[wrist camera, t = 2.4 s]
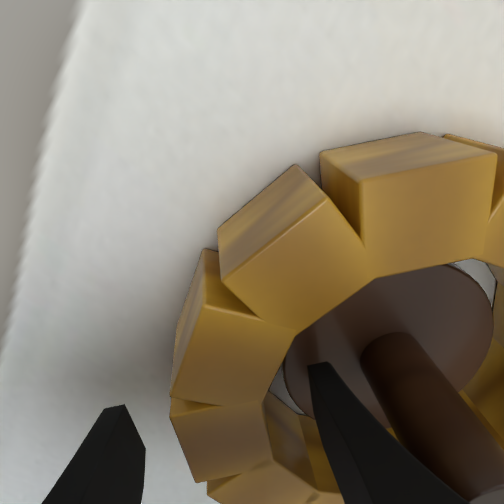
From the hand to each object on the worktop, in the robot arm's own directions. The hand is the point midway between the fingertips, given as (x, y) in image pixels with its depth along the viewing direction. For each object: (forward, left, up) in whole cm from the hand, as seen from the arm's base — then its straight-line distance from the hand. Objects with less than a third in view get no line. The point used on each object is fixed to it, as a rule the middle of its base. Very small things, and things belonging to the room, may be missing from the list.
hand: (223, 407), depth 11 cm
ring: (+5, 0, -2) cm, 6 cm away
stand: (+5, 0, -2) cm, 6 cm away
